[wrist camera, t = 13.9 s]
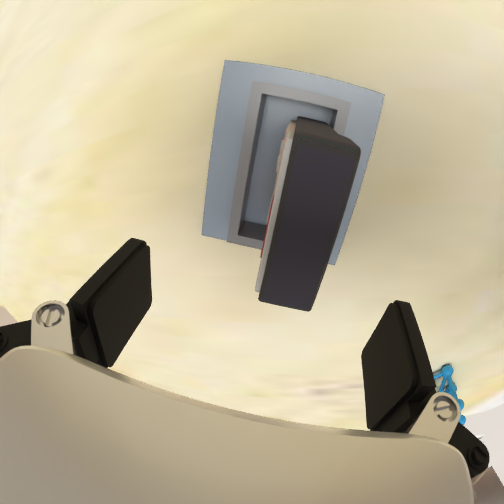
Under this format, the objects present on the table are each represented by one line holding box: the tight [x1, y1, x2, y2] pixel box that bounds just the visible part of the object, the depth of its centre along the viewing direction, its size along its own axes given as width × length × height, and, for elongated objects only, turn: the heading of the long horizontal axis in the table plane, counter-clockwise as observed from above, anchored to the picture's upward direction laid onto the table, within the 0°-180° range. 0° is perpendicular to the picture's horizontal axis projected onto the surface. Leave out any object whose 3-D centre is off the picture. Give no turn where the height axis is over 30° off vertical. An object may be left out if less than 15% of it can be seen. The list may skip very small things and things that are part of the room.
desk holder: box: [202, 60, 384, 265], centre depth 28 cm, size 16×20×4 cm
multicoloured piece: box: [255, 116, 361, 311], centre depth 23 cm, size 11×4×15 cm, turn 171°
